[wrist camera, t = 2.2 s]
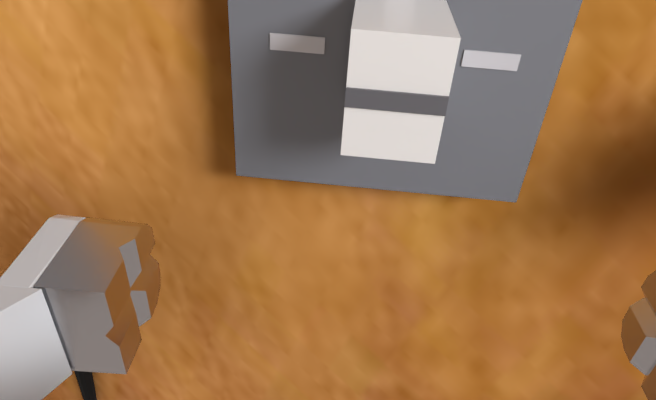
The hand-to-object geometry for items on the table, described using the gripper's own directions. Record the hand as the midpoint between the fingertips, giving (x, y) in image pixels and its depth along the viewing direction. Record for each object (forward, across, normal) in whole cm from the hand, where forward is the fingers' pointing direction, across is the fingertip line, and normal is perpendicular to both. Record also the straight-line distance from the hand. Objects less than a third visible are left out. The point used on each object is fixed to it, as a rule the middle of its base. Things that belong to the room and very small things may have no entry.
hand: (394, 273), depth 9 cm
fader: (+12, -1, +1) cm, 12 cm away
